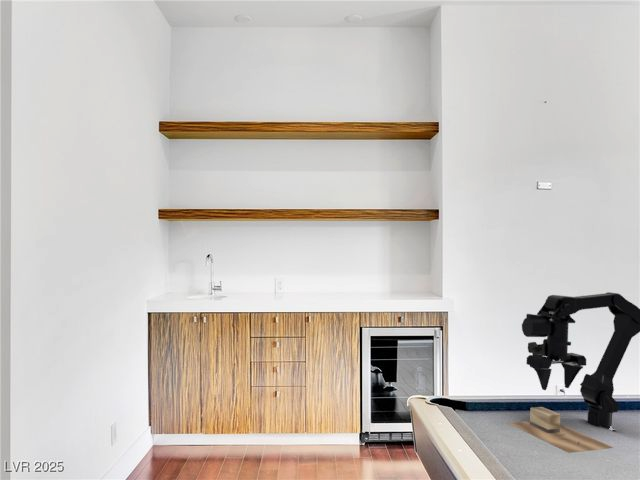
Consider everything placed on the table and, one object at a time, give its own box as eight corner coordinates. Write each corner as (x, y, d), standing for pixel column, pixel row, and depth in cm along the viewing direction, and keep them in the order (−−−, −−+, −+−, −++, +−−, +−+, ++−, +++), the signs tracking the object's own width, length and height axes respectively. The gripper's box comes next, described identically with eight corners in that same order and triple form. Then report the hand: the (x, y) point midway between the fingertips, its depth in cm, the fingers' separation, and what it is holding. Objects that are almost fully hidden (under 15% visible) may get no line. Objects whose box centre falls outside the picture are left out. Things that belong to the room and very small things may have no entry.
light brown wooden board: (549, 423, 156) (549, 419, 156) (613, 452, 135) (613, 447, 135) (507, 426, 150) (508, 422, 150) (568, 457, 130) (568, 452, 130)
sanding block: (541, 423, 152) (542, 406, 152) (559, 432, 145) (560, 414, 145) (529, 424, 150) (530, 407, 150) (547, 433, 143) (548, 415, 144)
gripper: (558, 331, 164) (556, 380, 164) (513, 333, 157) (512, 383, 157) (588, 338, 154) (586, 389, 154) (542, 340, 147) (540, 394, 146)
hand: (555, 388), depth 153 cm, fingers open, 9 cm apart
